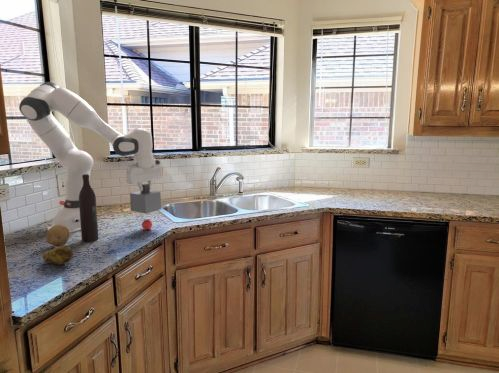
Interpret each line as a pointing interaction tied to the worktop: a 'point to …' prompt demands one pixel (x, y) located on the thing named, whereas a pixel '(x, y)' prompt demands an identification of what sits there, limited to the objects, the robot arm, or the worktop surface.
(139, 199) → the cover
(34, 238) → the worktop surface
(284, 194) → the worktop surface
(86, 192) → the wine bottle
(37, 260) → the worktop surface
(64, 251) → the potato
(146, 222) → the ball
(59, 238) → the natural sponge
